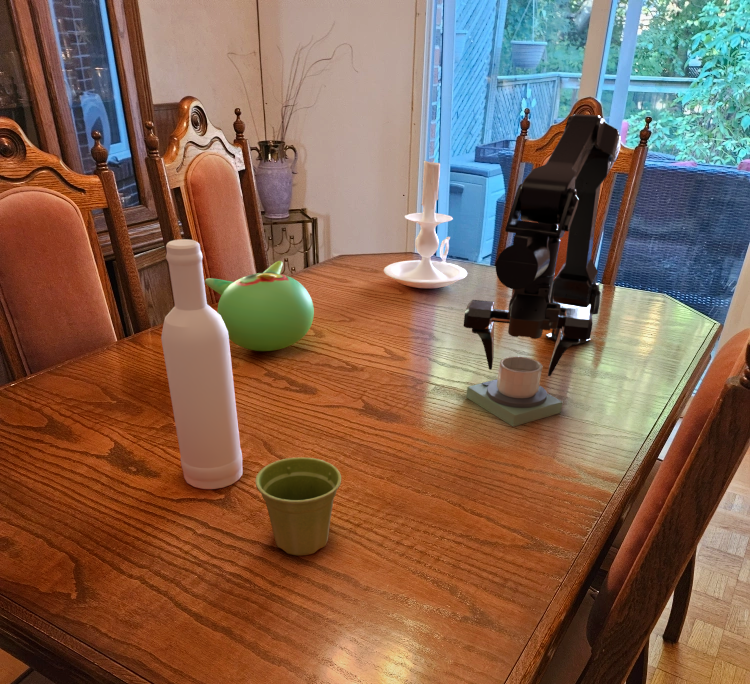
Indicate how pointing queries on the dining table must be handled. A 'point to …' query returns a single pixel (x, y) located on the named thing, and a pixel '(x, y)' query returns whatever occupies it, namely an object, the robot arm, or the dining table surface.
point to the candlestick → (427, 242)
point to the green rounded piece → (264, 309)
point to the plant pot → (299, 501)
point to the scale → (513, 403)
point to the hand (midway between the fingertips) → (519, 372)
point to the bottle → (200, 375)
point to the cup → (519, 377)
